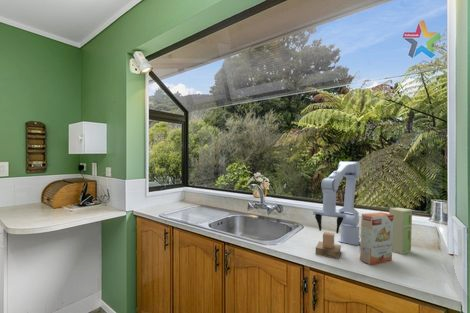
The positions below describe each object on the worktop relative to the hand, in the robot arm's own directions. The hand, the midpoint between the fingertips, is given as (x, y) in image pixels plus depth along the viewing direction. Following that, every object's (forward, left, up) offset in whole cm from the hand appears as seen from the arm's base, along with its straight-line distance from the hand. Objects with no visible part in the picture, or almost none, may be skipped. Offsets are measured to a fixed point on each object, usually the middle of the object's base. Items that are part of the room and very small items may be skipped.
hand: (328, 231), depth 115 cm
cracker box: (-20, -2, -10) cm, 23 cm away
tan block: (0, 0, -7) cm, 7 cm away
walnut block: (0, 0, -10) cm, 10 cm away
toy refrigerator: (-31, -22, -10) cm, 39 cm away
